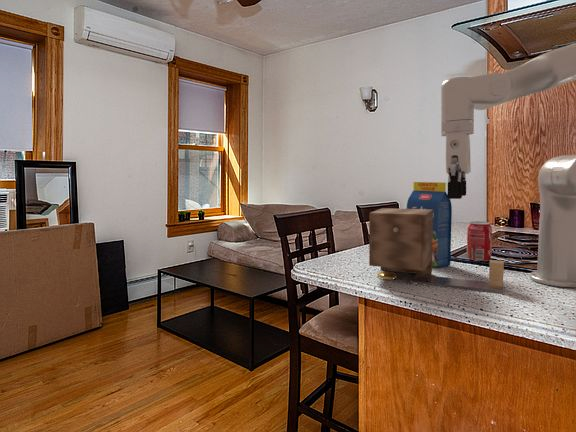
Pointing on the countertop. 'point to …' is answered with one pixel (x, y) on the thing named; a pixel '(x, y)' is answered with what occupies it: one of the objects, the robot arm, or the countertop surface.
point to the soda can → (479, 241)
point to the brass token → (387, 275)
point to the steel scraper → (492, 286)
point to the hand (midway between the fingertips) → (457, 197)
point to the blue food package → (435, 217)
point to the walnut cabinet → (401, 240)
